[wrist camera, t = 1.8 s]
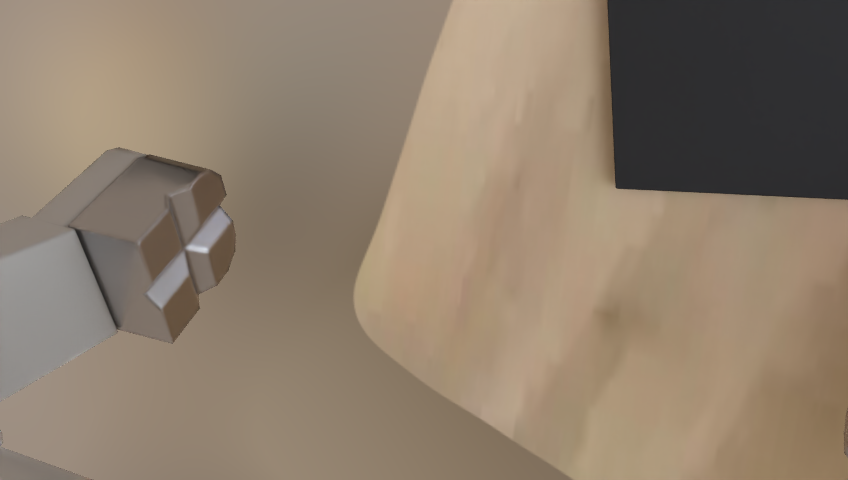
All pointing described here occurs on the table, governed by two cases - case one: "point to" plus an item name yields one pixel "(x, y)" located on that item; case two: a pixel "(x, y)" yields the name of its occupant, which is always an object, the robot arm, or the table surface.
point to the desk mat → (730, 96)
